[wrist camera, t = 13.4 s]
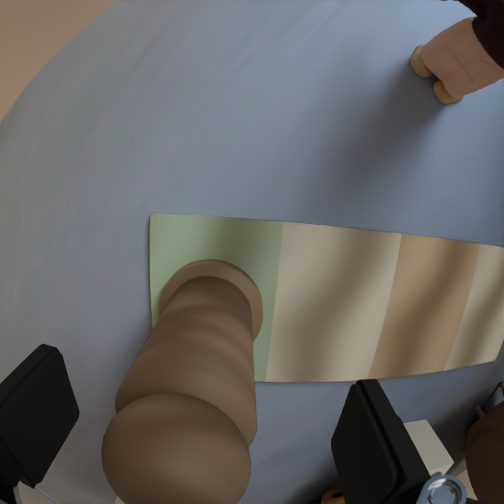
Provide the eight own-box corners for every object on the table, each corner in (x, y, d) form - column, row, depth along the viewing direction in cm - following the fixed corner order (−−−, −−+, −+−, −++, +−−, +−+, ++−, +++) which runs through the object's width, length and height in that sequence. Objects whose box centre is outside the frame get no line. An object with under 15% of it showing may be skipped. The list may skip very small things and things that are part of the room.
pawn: (266, 263, 16) (315, 467, 4) (257, 353, 17) (271, 555, 5) (162, 255, 16) (14, 413, 4) (164, 345, 17) (90, 527, 5)
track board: (525, 250, 17) (528, 251, 16) (492, 358, 19) (495, 360, 19) (152, 212, 16) (150, 213, 15) (157, 368, 18) (156, 371, 18)
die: (425, 418, 20) (454, 463, 14) (400, 459, 22) (421, 502, 16) (369, 427, 20) (393, 481, 14) (347, 468, 21) (363, 517, 15)
